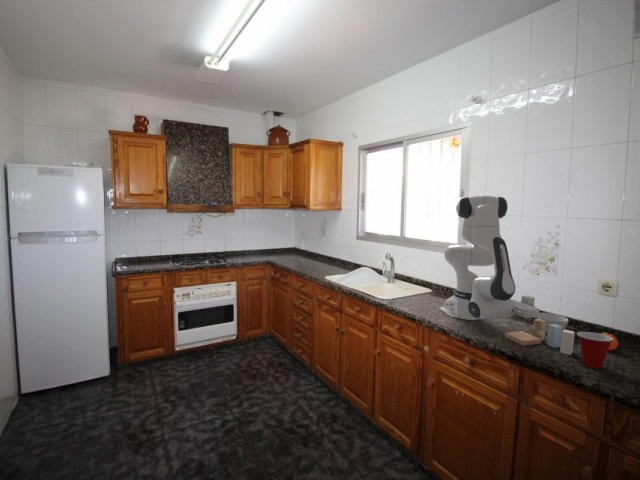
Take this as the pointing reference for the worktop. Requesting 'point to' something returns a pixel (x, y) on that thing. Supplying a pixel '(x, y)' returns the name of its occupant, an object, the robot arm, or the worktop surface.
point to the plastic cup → (594, 348)
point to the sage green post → (527, 300)
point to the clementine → (613, 342)
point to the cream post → (567, 342)
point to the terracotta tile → (523, 338)
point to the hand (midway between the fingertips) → (528, 305)
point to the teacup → (553, 320)
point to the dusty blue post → (554, 335)
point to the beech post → (539, 328)
